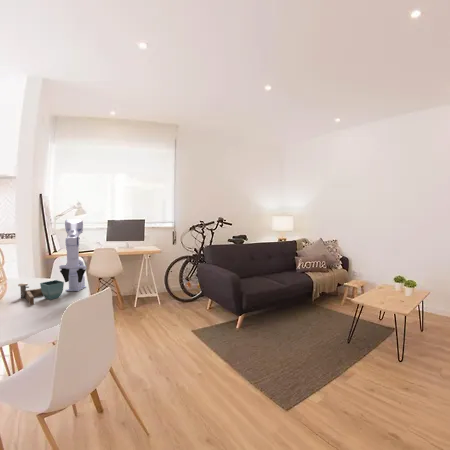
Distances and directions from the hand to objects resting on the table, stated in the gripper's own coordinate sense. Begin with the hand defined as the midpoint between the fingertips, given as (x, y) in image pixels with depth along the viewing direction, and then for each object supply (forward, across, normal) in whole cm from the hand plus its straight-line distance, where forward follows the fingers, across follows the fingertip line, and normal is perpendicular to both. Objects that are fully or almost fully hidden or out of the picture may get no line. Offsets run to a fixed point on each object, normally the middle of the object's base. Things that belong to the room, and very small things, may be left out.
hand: (73, 282), depth 152 cm
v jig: (+9, -23, 0) cm, 25 cm away
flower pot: (+10, -12, 0) cm, 16 cm away
